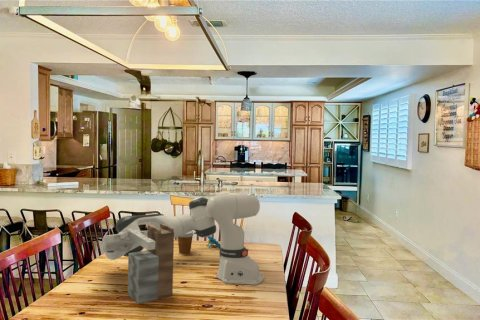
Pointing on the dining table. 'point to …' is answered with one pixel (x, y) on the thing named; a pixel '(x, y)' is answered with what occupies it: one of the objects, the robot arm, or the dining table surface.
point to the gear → (213, 242)
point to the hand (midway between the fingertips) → (133, 232)
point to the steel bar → (141, 239)
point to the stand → (152, 267)
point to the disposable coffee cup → (185, 243)
